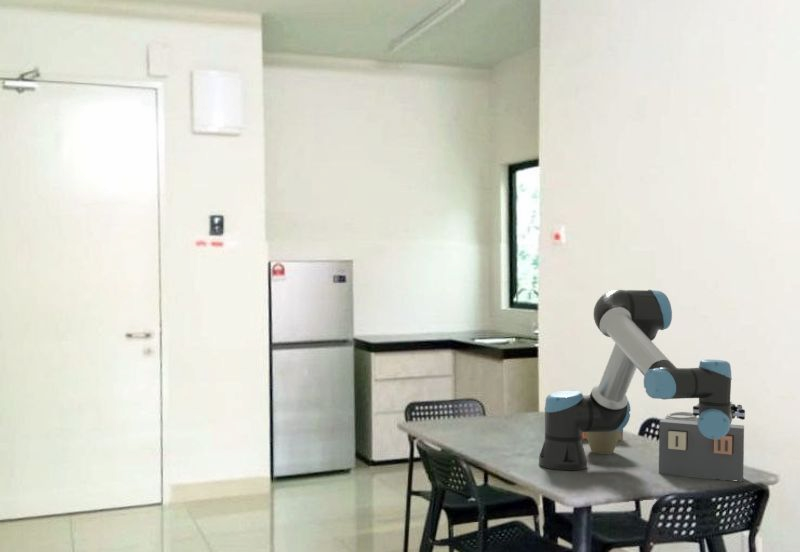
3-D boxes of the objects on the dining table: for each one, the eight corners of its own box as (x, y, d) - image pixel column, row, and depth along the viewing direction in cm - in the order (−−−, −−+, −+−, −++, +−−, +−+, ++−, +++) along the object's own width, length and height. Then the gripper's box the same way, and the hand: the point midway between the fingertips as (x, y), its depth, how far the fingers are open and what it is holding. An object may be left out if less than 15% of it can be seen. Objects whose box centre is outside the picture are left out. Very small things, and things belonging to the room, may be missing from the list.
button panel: (742, 482, 246) (743, 428, 246) (658, 473, 256) (659, 421, 256) (743, 478, 251) (744, 425, 251) (661, 469, 261) (661, 418, 261)
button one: (685, 450, 249) (685, 433, 249) (668, 448, 251) (668, 432, 251) (686, 448, 252) (686, 432, 252) (669, 446, 254) (669, 430, 254)
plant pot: (587, 445, 296) (588, 401, 296) (628, 450, 289) (629, 405, 289) (574, 453, 283) (574, 406, 283) (617, 458, 276) (618, 410, 276)
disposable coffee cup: (685, 462, 271) (686, 417, 271) (657, 456, 280) (658, 412, 280) (704, 459, 277) (705, 414, 277) (676, 453, 286) (677, 409, 286)
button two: (731, 454, 244) (731, 437, 244) (713, 453, 246) (713, 436, 246) (732, 452, 247) (732, 436, 247) (714, 451, 249) (714, 434, 249)
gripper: (683, 427, 221) (691, 415, 243) (751, 433, 214) (753, 420, 236) (683, 399, 221) (691, 389, 243) (751, 404, 214) (753, 393, 236)
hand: (722, 404), depth 239 cm, fingers open, 4 cm apart
